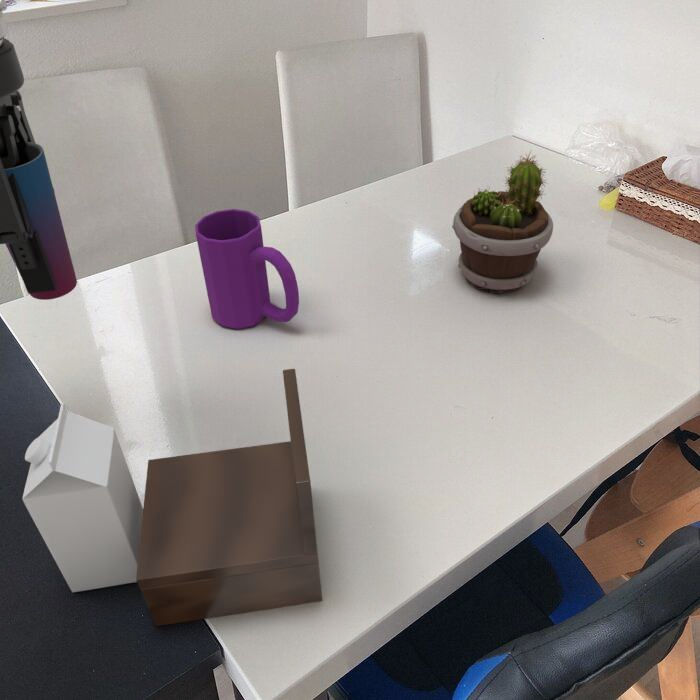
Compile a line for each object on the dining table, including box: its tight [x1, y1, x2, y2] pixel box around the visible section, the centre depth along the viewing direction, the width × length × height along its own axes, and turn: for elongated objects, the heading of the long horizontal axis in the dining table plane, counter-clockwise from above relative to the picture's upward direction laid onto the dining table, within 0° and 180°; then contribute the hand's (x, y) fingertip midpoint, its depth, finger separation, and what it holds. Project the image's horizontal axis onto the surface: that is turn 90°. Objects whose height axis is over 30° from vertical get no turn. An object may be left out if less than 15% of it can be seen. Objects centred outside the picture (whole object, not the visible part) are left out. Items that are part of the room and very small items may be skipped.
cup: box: [4, 142, 78, 301], centre depth 69 cm, size 7×7×15 cm
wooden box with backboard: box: [136, 368, 323, 627], centre depth 65 cm, size 16×14×18 cm
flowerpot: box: [451, 150, 554, 294], centre depth 102 cm, size 14×15×20 cm
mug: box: [194, 208, 300, 330], centre depth 97 cm, size 9×16×15 cm, turn 58°
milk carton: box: [22, 402, 144, 593], centre depth 64 cm, size 7×7×19 cm
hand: (47, 272), depth 73 cm, fingers closed on cup, 6 cm apart
